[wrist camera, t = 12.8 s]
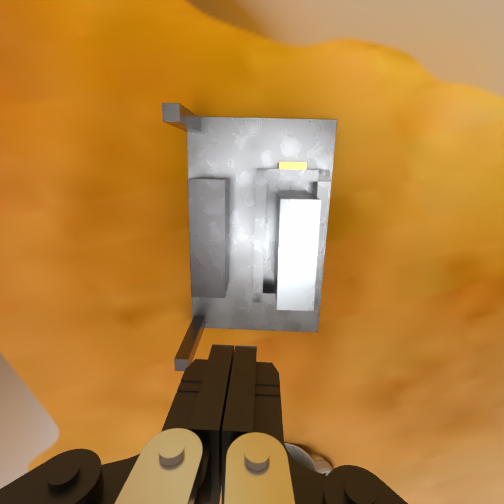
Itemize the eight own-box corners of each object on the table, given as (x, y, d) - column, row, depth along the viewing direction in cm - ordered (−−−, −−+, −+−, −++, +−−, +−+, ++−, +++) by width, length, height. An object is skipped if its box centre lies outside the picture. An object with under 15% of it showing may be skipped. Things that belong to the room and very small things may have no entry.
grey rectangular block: (306, 190, 31) (321, 199, 23) (302, 276, 33) (313, 311, 26) (276, 190, 31) (280, 199, 23) (273, 276, 33) (276, 309, 26)
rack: (334, 121, 30) (363, 103, 21) (316, 327, 36) (332, 379, 27) (188, 117, 30) (159, 99, 22) (194, 322, 36) (172, 372, 28)
